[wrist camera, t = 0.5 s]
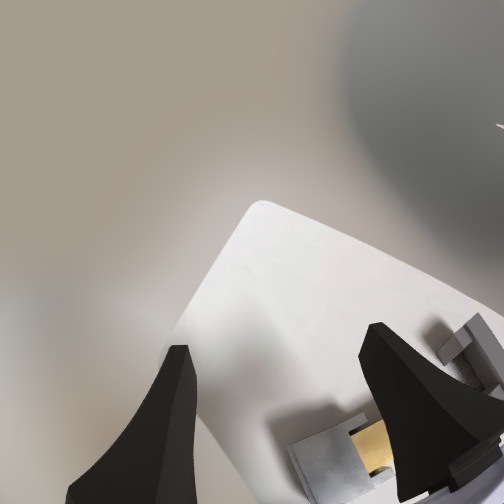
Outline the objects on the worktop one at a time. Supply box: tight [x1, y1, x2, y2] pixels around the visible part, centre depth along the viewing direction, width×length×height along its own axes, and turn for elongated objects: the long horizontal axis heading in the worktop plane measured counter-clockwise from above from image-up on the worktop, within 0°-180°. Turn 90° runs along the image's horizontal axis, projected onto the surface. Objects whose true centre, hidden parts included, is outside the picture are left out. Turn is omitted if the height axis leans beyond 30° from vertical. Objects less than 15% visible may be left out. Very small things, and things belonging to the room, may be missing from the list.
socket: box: [436, 313, 504, 400], centre depth 19 cm, size 10×4×6 cm, turn 19°
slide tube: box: [350, 419, 393, 473], centre depth 18 cm, size 4×15×4 cm, turn 109°
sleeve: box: [286, 412, 396, 504], centre depth 18 cm, size 7×7×6 cm
